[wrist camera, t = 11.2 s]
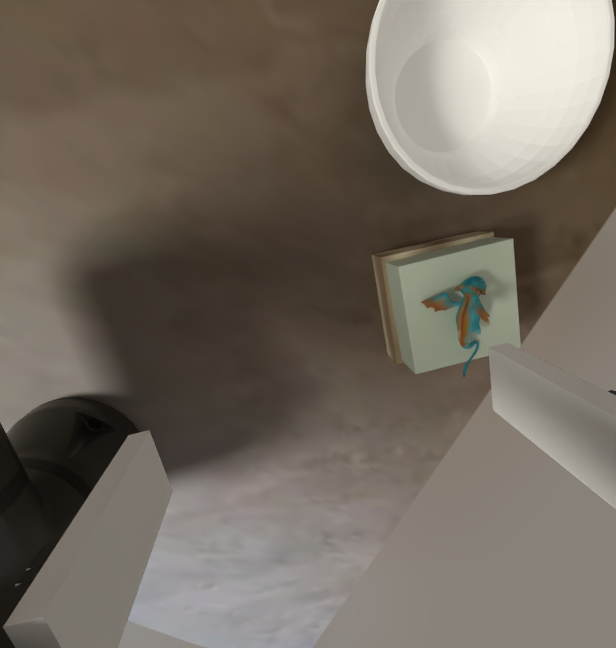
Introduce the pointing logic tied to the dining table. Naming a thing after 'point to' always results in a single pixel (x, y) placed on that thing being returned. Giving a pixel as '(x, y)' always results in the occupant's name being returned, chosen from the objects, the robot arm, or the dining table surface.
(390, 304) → the tower base
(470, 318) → the dragon figurine
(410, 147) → the bowl
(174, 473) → the dining table surface
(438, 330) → the tower top
